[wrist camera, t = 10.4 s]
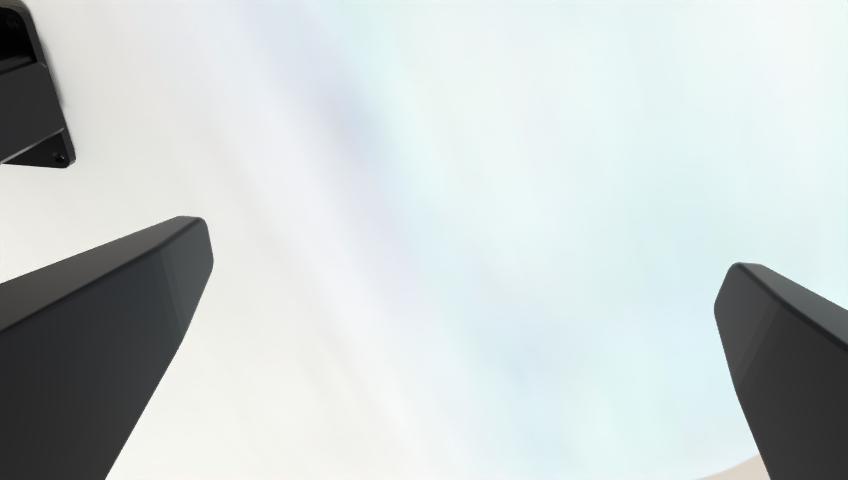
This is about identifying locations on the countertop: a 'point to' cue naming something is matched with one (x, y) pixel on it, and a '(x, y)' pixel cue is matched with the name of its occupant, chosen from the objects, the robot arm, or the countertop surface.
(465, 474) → the countertop surface
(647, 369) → the countertop surface
